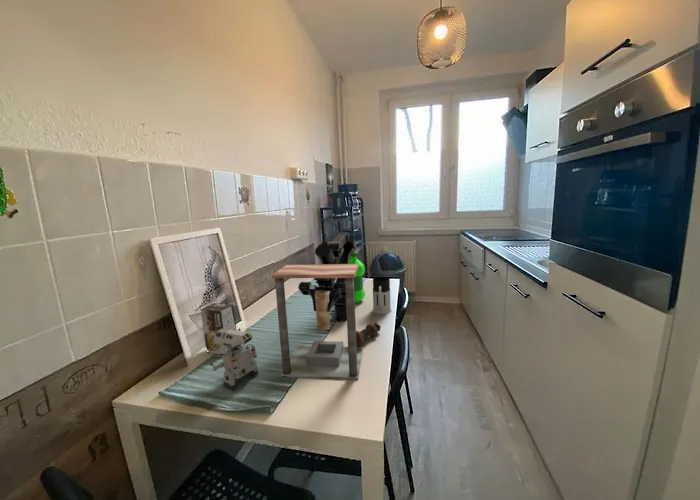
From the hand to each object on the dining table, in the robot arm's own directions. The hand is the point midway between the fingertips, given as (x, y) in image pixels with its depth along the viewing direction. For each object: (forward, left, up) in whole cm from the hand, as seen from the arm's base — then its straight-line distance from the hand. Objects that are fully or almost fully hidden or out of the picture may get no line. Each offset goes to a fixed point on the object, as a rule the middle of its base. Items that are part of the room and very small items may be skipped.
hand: (321, 311), depth 100 cm
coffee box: (-17, -32, -14) cm, 39 cm away
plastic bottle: (-37, +31, -14) cm, 50 cm away
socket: (+7, -2, -13) cm, 15 cm away
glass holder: (-17, +34, -14) cm, 40 cm away
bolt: (+3, +16, -13) cm, 21 cm away
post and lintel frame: (+9, -3, -13) cm, 16 cm away
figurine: (+4, -29, -14) cm, 32 cm away
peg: (-1, +1, -7) cm, 7 cm away
